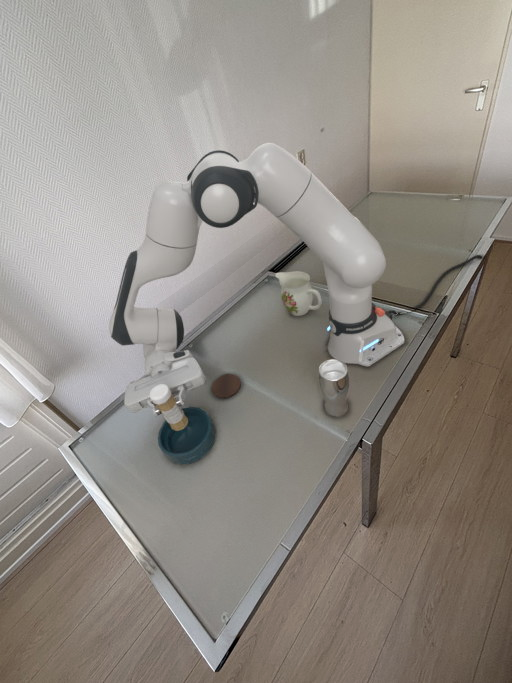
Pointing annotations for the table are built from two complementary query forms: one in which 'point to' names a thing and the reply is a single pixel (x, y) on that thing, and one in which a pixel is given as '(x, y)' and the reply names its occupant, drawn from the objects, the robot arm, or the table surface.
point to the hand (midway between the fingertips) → (169, 408)
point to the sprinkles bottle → (168, 407)
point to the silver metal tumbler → (334, 386)
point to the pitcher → (297, 292)
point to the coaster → (226, 386)
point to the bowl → (188, 437)
